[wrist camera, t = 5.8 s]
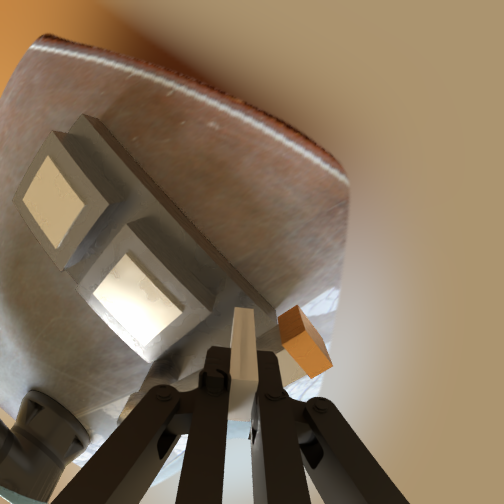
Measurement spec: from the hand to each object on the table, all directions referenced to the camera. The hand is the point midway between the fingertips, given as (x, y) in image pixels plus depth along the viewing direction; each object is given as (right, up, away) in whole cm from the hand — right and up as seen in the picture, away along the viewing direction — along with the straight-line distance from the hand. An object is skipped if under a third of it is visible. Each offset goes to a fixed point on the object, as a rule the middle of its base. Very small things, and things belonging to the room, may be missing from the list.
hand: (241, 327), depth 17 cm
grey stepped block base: (-10, +5, +8) cm, 14 cm away
